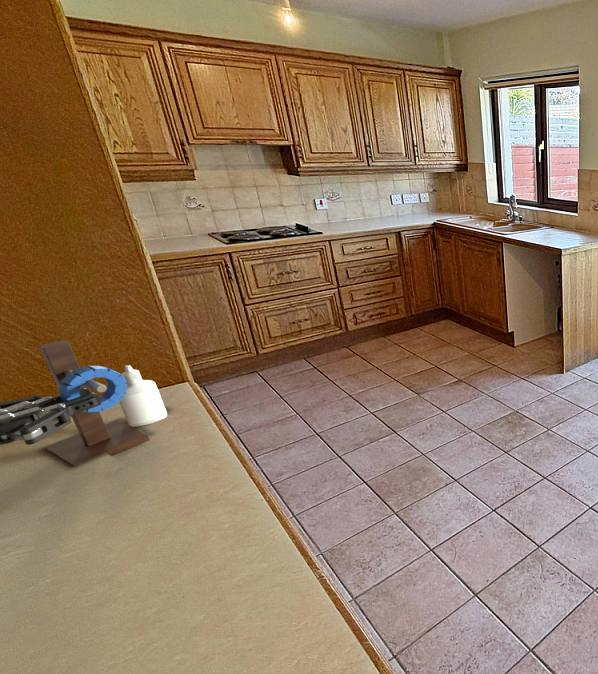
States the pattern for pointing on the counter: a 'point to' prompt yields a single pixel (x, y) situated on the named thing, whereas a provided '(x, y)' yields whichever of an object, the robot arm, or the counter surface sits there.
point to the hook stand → (87, 416)
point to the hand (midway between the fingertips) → (93, 395)
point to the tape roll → (84, 374)
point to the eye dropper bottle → (141, 400)
